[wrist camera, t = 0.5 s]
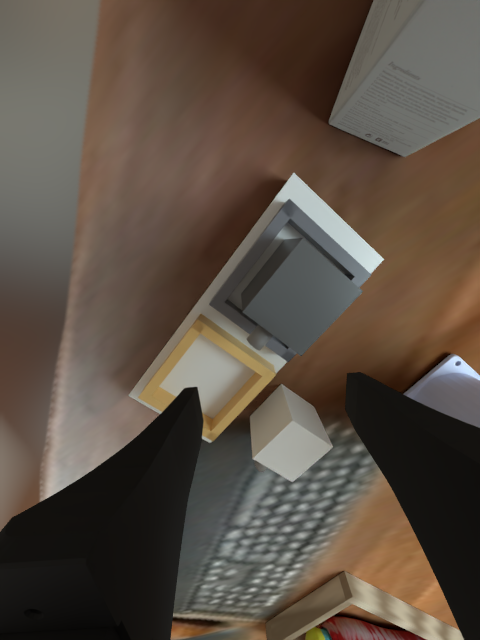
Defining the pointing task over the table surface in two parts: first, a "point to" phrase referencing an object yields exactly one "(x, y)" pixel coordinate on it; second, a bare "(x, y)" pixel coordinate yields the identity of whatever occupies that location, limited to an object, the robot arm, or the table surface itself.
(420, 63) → the small box
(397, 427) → the robot arm
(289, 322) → the twin plug
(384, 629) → the water bottle
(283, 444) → the plug
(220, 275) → the white base platform
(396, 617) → the desk tray
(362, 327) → the table surface
